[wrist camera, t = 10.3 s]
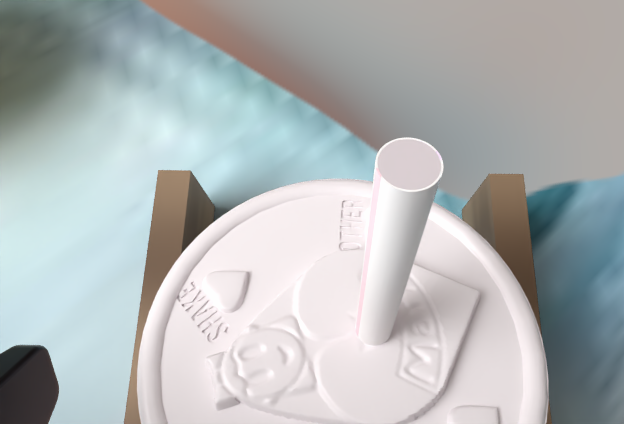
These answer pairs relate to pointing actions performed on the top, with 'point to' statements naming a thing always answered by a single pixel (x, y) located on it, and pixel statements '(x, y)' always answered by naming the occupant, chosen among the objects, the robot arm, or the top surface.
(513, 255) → the frame
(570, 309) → the top surface
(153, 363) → the smoothie
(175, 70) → the top surface
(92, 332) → the top surface
